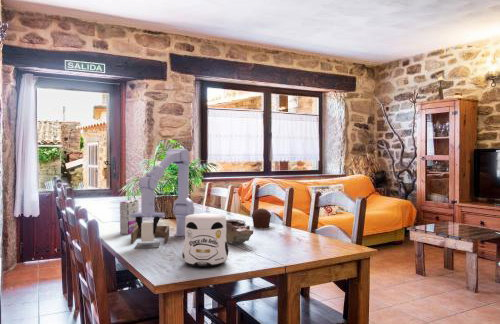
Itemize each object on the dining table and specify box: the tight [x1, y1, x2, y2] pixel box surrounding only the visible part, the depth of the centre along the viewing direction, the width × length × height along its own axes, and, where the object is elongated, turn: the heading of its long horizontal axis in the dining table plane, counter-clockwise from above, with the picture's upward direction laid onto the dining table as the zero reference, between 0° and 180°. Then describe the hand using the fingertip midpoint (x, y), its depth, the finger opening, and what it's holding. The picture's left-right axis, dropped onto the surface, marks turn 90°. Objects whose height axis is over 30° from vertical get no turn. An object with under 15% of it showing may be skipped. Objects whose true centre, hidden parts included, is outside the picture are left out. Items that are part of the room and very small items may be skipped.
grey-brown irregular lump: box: [226, 219, 254, 244], centre depth 186 cm, size 13×20×10 cm, turn 25°
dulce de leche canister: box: [182, 212, 229, 268], centre depth 151 cm, size 17×17×18 cm
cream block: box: [140, 221, 155, 243], centre depth 177 cm, size 5×5×8 cm
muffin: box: [251, 208, 272, 229], centre depth 225 cm, size 12×11×10 cm
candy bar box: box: [119, 199, 139, 235], centre depth 206 cm, size 11×5×16 cm, turn 168°
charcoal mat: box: [134, 241, 161, 250], centre depth 177 cm, size 10×9×1 cm
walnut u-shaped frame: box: [130, 225, 170, 245], centre depth 190 cm, size 16×16×5 cm
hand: (147, 233), depth 177 cm, fingers closed on cream block, 5 cm apart
